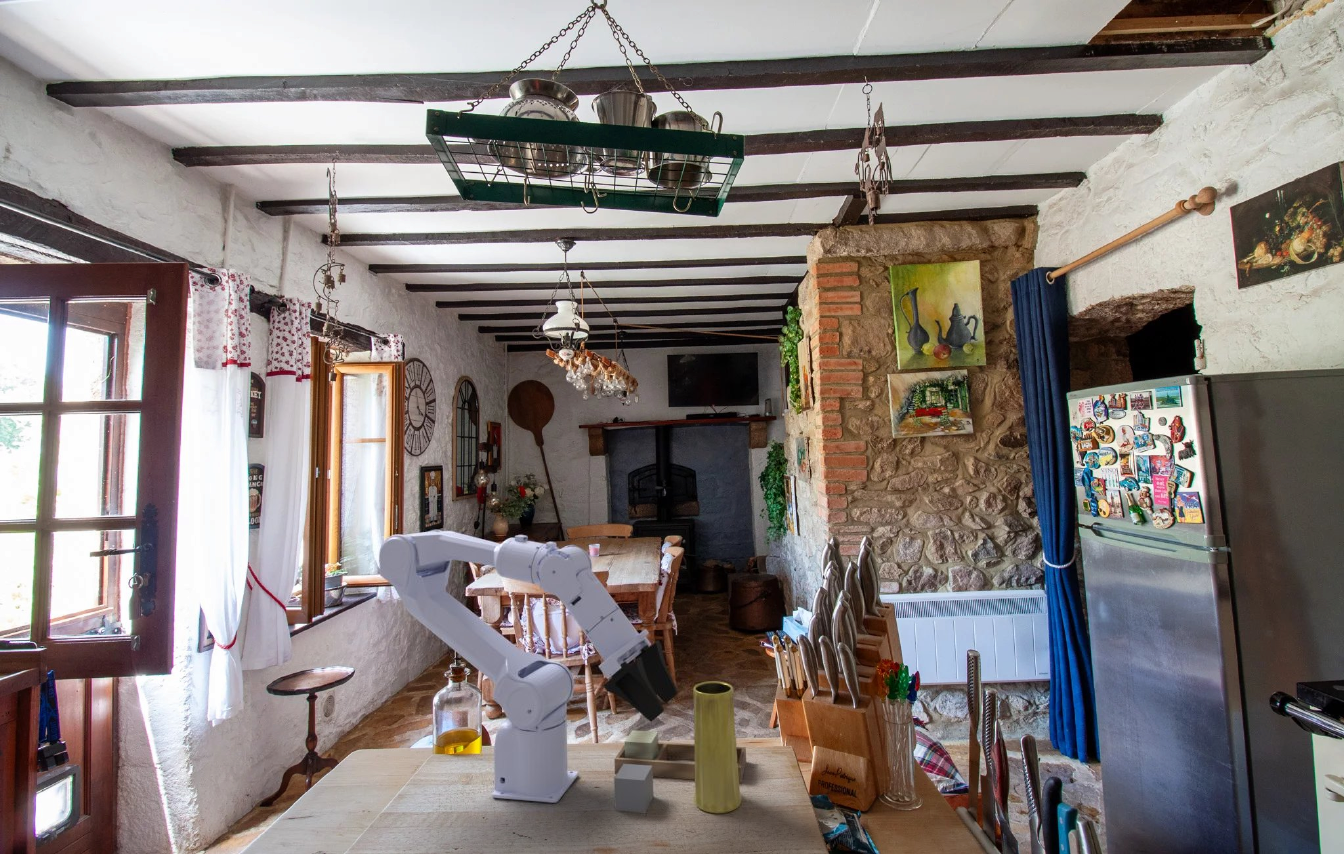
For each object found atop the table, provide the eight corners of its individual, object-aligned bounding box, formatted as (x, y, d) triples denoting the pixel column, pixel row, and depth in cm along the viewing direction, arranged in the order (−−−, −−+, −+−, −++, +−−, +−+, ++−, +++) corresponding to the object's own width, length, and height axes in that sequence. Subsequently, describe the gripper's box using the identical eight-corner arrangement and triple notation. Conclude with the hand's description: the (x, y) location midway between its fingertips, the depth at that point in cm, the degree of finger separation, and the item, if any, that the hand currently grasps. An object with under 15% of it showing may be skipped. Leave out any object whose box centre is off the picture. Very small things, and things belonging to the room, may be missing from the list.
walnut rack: (614, 773, 87) (614, 744, 87) (627, 753, 93) (627, 726, 94) (741, 782, 83) (740, 752, 83) (746, 761, 89) (745, 733, 90)
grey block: (615, 810, 77) (614, 777, 78) (624, 794, 81) (623, 763, 82) (645, 813, 76) (644, 780, 77) (653, 797, 80) (652, 765, 81)
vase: (739, 815, 75) (734, 696, 76) (690, 812, 76) (686, 694, 77) (743, 791, 81) (738, 680, 82) (698, 788, 82) (694, 679, 83)
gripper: (606, 611, 76) (674, 704, 72) (640, 596, 90) (699, 673, 86) (565, 647, 76) (631, 741, 73) (605, 626, 90) (662, 704, 87)
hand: (665, 706), depth 79 cm, fingers open, 7 cm apart
